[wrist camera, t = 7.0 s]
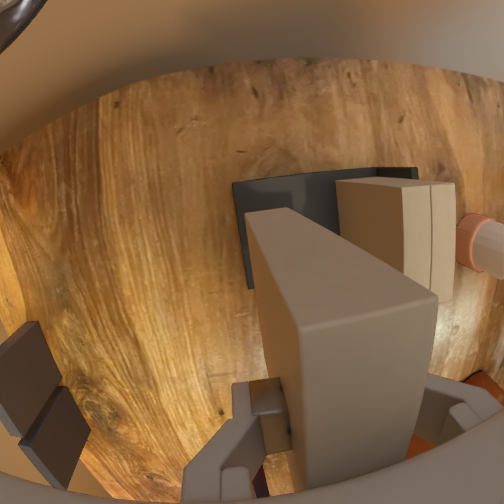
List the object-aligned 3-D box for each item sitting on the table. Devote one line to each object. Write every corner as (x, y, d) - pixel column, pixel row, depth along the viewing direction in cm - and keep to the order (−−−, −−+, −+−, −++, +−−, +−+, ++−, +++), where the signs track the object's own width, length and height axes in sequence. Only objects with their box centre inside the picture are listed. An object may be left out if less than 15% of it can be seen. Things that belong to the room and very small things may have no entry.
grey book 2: (54, 386, 35) (17, 444, 23) (66, 386, 35) (30, 447, 23) (79, 429, 37) (53, 487, 25) (91, 430, 37) (66, 491, 25)
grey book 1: (26, 321, 32) (-28, 372, 20) (38, 321, 33) (-16, 373, 20) (50, 377, 35) (10, 435, 22) (62, 377, 35) (23, 438, 22)
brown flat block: (243, 212, 17) (296, 328, 4) (288, 206, 17) (441, 295, 4) (264, 356, 19) (307, 548, 6) (301, 349, 19) (376, 529, 6)
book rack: (232, 182, 31) (236, 189, 17) (378, 166, 31) (461, 169, 18) (247, 286, 33) (262, 358, 20) (383, 262, 34) (457, 309, 21)
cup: (270, 446, 40) (284, 526, 26) (262, 470, 42) (273, 543, 27) (224, 444, 39) (227, 528, 25) (220, 468, 41) (223, 544, 26)
